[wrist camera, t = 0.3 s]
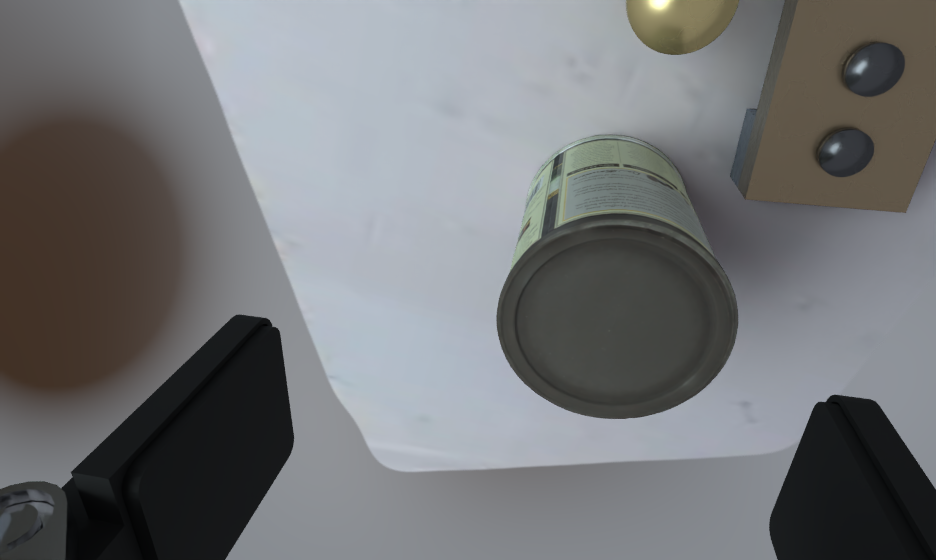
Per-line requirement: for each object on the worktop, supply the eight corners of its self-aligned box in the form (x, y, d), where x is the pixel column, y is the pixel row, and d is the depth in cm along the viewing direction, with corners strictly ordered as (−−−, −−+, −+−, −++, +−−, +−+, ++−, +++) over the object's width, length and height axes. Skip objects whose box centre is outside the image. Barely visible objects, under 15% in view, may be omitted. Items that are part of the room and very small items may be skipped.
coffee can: (687, 279, 39) (730, 423, 27) (532, 284, 41) (508, 418, 29) (692, 124, 34) (748, 213, 22) (518, 139, 37) (482, 227, 25)
